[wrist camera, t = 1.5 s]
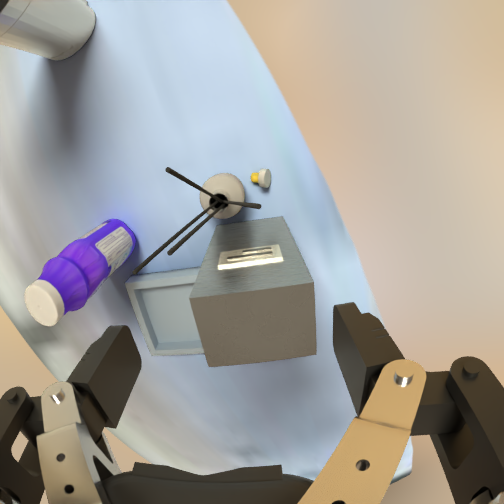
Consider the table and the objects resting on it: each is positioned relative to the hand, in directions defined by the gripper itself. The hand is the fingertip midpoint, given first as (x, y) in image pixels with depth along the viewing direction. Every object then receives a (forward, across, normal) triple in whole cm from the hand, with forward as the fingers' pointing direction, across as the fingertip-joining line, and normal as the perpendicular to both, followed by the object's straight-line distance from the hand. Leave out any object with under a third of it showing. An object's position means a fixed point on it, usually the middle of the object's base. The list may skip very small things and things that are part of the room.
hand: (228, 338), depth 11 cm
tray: (+26, +10, +13) cm, 30 cm away
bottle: (+26, +18, +2) cm, 31 cm away
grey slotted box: (+26, -1, +5) cm, 26 cm away
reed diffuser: (+26, +2, -3) cm, 26 cm away
